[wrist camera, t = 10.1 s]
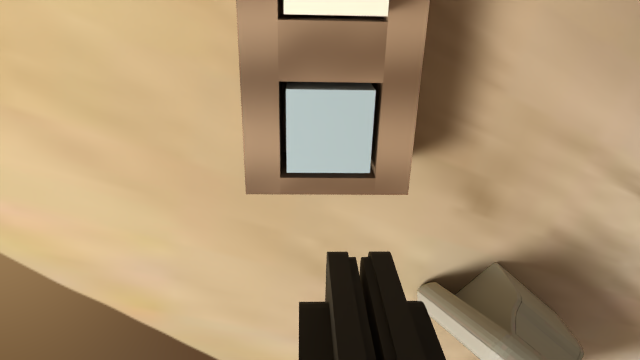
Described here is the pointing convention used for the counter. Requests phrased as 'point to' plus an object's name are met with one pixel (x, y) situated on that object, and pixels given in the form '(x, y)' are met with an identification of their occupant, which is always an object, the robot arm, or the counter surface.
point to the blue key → (329, 127)
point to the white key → (337, 7)
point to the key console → (329, 66)
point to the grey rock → (500, 319)
